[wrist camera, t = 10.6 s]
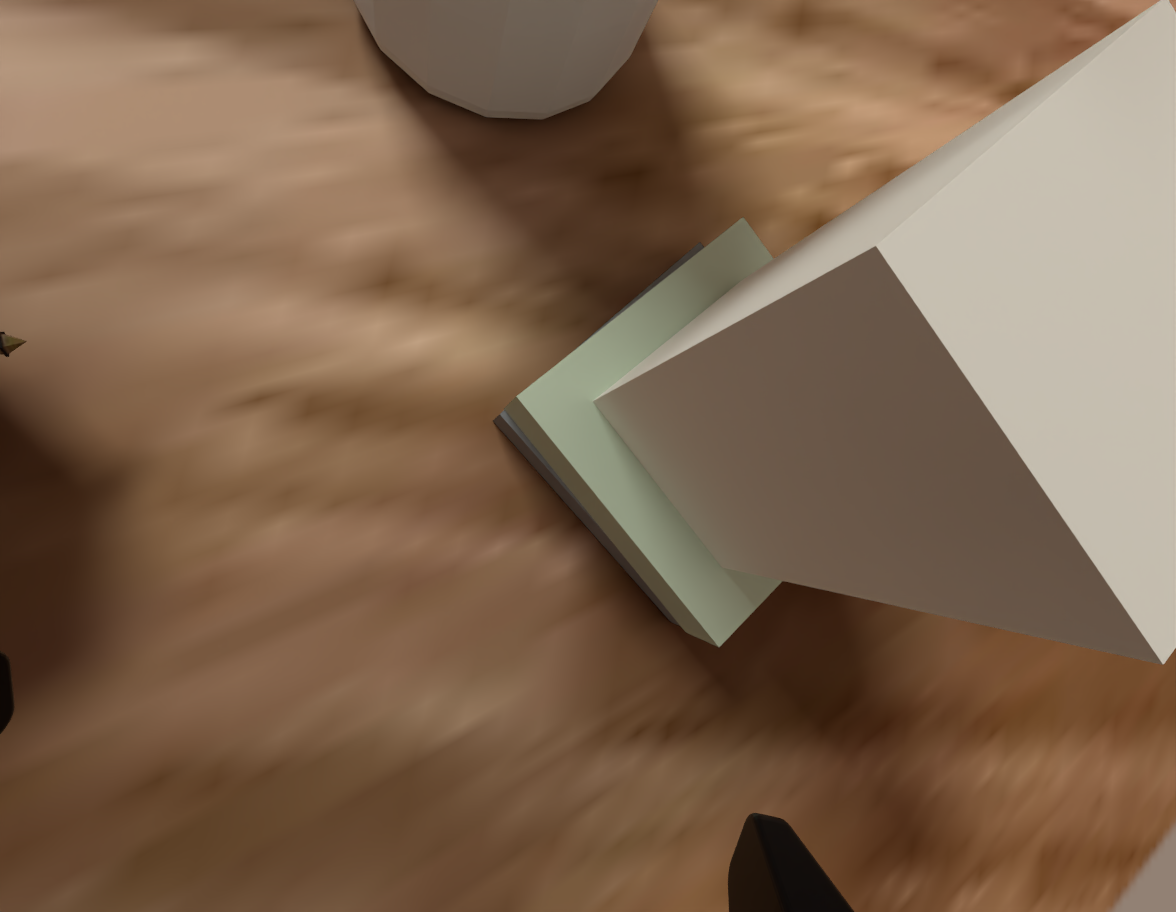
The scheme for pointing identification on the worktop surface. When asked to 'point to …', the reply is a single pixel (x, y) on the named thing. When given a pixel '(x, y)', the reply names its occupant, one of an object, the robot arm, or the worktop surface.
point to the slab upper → (610, 469)
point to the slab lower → (559, 486)
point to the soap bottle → (509, 49)
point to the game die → (9, 343)
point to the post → (958, 376)
